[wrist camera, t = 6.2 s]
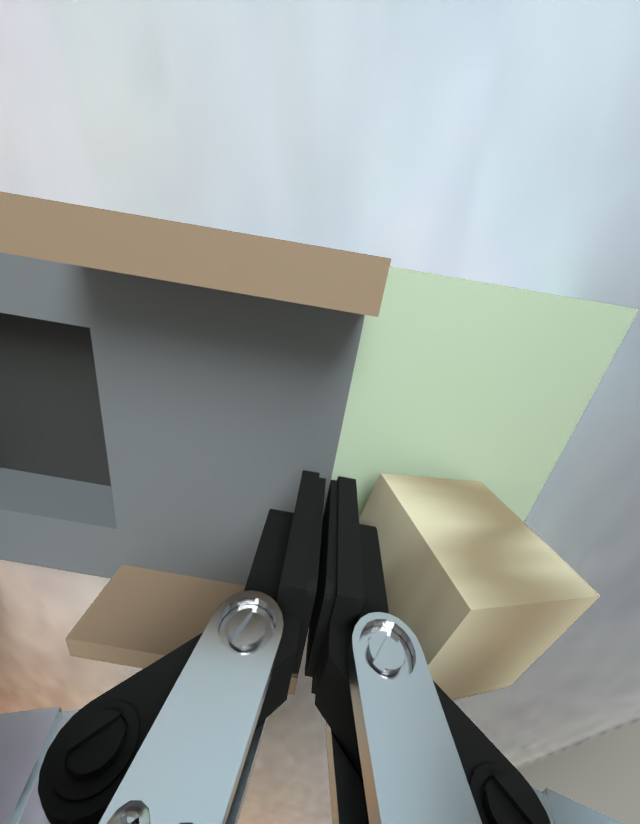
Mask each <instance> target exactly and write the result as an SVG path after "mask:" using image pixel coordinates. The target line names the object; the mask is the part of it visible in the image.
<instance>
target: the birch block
mask: <svg viewBox="0 0 640 824" xmlns="http://www.w3.org/2000/svg"><path fill="white" fill-rule="evenodd" d="M359 524H363V525H369V526H375V527H376V528H377V532H378V538H379V546H380V553H381V560H382V567H383V574H384V581H385V588H386V595H387V603H388V610H389V614H391V615H393V616H395V617H397V618H399V619H400V620H401V621H403V622H404V623H405V624H406V625H407V626H408V627H409V628H410V629H411V630H412V632H413V633H414V634H415V635H416V637H417V639H418V641H419V643H420V645H421V648H422V651H423V653H424V656H425V659H426V662H427V665H428V668H429V671H430V674H431V677H432V679H433V681H434V682H435V683H436V684H437V685H438V686H439V687H440V688H441V689H442V690H443V691H444V692H445V693H446V694H447V695H448V697H449V698H450V699H451V700H456V699H460V698H464V697H468V696H473V695H477V694H481V693H485V692H489V691H493V690H498V689H502V688H506V687H509V686H510V685H511V684H512V683H513V682H514V681H515V680H516V679H517V678H518V677H519V676H520V675H521V674H522V673H523V672H524V671H525V670H526V669H527V668H528V667H529V666H530V665H532V664H533V663H534V662H535V661H536V660H537V659H538V658H539V657H540V656H541V655H542V654H543V653H544V652H545V651H546V650H547V649H548V648H549V647H550V646H551V645H552V644H553V643H554V642H555V641H556V640H557V639H558V638H559V637H560V636H561V635H562V634H563V633H564V632H565V631H566V630H567V629H568V628H569V627H570V626H571V625H572V624H573V623H574V622H575V621H576V620H577V619H578V618H579V617H580V616H581V615H582V614H583V613H584V612H585V611H586V610H587V609H588V608H589V607H590V606H591V605H592V604H593V603H594V602H595V601H596V600H597V599H598V598H599V597H600V595H599V594H598V593H597V592H596V591H595V590H594V589H593V588H592V587H591V586H590V585H589V584H588V583H587V582H586V581H585V580H584V579H583V578H582V577H581V576H579V575H578V574H577V573H576V572H575V571H574V570H573V569H572V568H571V567H570V566H569V565H568V564H567V563H566V562H565V561H564V560H563V559H562V558H561V557H560V556H559V555H558V554H557V553H555V552H554V551H553V550H552V549H551V548H550V547H549V546H548V545H547V544H546V543H545V542H544V541H543V540H542V539H541V538H540V537H539V536H538V535H537V534H536V533H535V532H534V531H533V530H531V529H530V528H529V527H528V526H527V525H526V524H525V523H524V522H523V521H522V520H521V519H520V518H519V517H518V516H517V515H516V514H515V513H514V512H513V511H512V510H511V509H510V508H509V507H507V506H506V505H505V504H504V503H503V502H502V501H501V500H500V499H499V498H498V497H497V496H496V495H495V494H494V493H493V492H492V491H491V490H490V489H489V488H488V487H487V486H486V485H485V484H483V483H482V482H477V481H466V480H454V479H442V478H431V477H419V476H408V475H396V474H385V473H381V474H380V476H379V478H378V480H377V482H376V484H375V487H374V489H373V491H372V493H371V495H370V497H369V500H368V502H367V504H366V506H365V508H364V510H363V512H362V515H361V517H360V519H359Z"/></svg>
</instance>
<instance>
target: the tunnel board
mask: <svg viewBox="0 0 640 824" xmlns="http://www.w3.org/2000/svg"><path fill="white" fill-rule="evenodd" d="M390 262H391V259H390V258H384V257H378V256H372V255H367V254H361V253H355V252H349V251H343V250H337V249H332V248H326V247H320V246H314V245H308V244H302V243H297V242H291V241H285V240H279V239H273V238H267V237H262V236H256V235H250V234H244V233H238V232H232V231H227V230H221V229H215V228H209V227H203V226H197V225H192V224H186V223H180V222H174V221H168V220H162V219H157V218H151V217H145V216H139V215H133V214H127V213H122V212H116V211H110V210H104V209H98V208H93V207H87V206H81V205H75V204H69V203H63V202H58V201H52V200H46V199H40V198H34V197H28V196H23V195H17V194H11V193H5V192H0V559H1V560H7V561H12V562H18V563H24V564H30V565H36V566H41V567H47V568H53V569H59V570H65V571H71V572H76V573H82V574H88V575H94V576H100V577H105V578H111V580H110V581H109V582H108V583H107V585H106V586H105V587H104V589H103V590H102V591H101V593H100V594H99V595H98V597H97V598H96V599H95V600H94V602H93V603H92V604H91V606H90V607H89V608H88V610H87V611H86V612H85V614H84V615H83V616H82V617H81V619H80V620H79V621H78V623H77V624H76V625H75V627H74V628H73V629H72V631H71V632H70V633H69V634H68V636H67V637H66V642H67V646H68V649H69V653H70V656H74V657H80V658H86V659H92V660H98V661H103V662H109V663H115V664H121V665H127V666H132V667H138V668H146V667H147V666H149V665H151V664H152V663H154V662H156V661H157V660H159V659H160V658H162V657H164V656H165V655H167V654H168V653H170V652H172V651H173V650H175V649H177V648H178V647H180V646H181V645H183V644H185V643H186V642H188V641H189V640H191V639H193V638H194V637H196V636H197V635H199V634H201V633H202V632H204V630H205V628H206V627H207V625H208V623H209V621H210V619H211V617H212V616H213V614H214V612H215V611H216V609H217V608H218V607H219V605H220V604H221V603H222V602H223V601H224V600H226V599H227V598H228V597H230V596H231V595H234V594H236V593H238V592H242V591H244V589H245V586H246V583H247V580H248V576H249V573H250V570H251V567H252V563H253V560H254V557H255V554H256V551H257V547H258V544H259V541H260V538H261V535H262V531H263V528H264V525H265V522H266V519H267V515H268V512H269V510H270V509H275V510H281V511H287V512H293V513H294V511H295V506H296V501H297V496H298V491H299V486H300V481H301V476H302V471H303V470H306V471H312V472H318V473H320V476H319V478H325V479H326V483H325V496H324V509H323V514H324V510H325V505H326V500H327V495H328V490H329V486H330V481H331V480H337V479H338V476H341V477H347V478H353V479H356V485H357V499H358V513H359V519H360V517H361V515H362V512H363V510H364V508H365V506H366V504H367V502H368V500H369V497H370V495H371V493H372V491H373V489H374V487H375V484H376V482H377V480H378V478H379V476H380V474H381V473H385V474H396V475H408V476H419V477H431V478H442V479H454V480H466V481H477V482H482V483H483V484H485V485H486V486H487V487H488V488H489V489H490V490H491V491H492V492H493V493H494V494H495V495H496V496H497V497H498V498H499V499H500V500H501V501H502V502H503V503H504V504H505V505H506V506H507V507H509V508H510V509H511V510H512V511H513V512H514V513H515V514H516V515H517V516H518V517H519V518H520V519H521V520H522V521H523V522H524V521H525V519H526V518H527V516H528V514H529V512H530V510H531V508H532V506H533V505H534V503H535V501H536V499H537V497H538V495H539V494H540V492H541V490H542V488H543V486H544V484H545V482H546V481H547V479H548V477H549V475H550V473H551V471H552V470H553V468H554V466H555V464H556V462H557V460H558V458H559V457H560V455H561V453H562V451H563V449H564V447H565V446H566V444H567V442H568V440H569V438H570V436H571V434H572V433H573V431H574V429H575V427H576V425H577V423H578V422H579V420H580V418H581V416H582V414H583V412H584V410H585V409H586V407H587V405H588V403H589V401H590V399H591V398H592V396H593V394H594V392H595V390H596V388H597V386H598V385H599V383H600V381H601V379H602V377H603V375H604V374H605V372H606V370H607V368H608V366H609V364H610V362H611V361H612V359H613V357H614V355H615V353H616V351H617V350H618V348H619V346H620V344H621V342H622V340H623V338H624V337H625V335H626V333H627V331H628V329H629V327H630V326H631V324H632V322H633V320H634V318H635V316H636V314H637V313H638V311H639V309H636V308H630V307H624V306H618V305H612V304H606V303H601V302H595V301H589V300H583V299H577V298H571V297H566V296H560V295H554V294H548V293H542V292H536V291H531V290H525V289H519V288H513V287H507V286H501V285H496V284H490V283H484V282H478V281H472V280H466V279H461V278H455V277H449V276H443V275H437V274H431V273H426V272H420V271H414V270H408V269H402V268H396V267H391V266H390ZM297 678H298V674H293V673H292V676H291V681H290V685H289V690H288V693H290V694H294V692H295V687H296V683H297Z"/></svg>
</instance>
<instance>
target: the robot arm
mask: <svg viewBox="0 0 640 824" xmlns="http://www.w3.org/2000/svg"><path fill="white" fill-rule="evenodd" d="M319 476H320V473H318V472H312V471H306V470H303V471H302V476H301V481H300V486H299V491H298V496H297V501H296V506H295V511H294V513H293V512H287V511H281V510H275V509H270V510H269V512H268V515H267V519H266V522H265V525H264V528H263V531H262V535H261V538H260V541H259V544H258V547H257V551H256V554H255V557H254V560H253V563H252V567H251V570H250V573H249V576H248V580H247V583H246V586H245V589H244V591H242V592H238V593H236V594H234V595H231V596H230V597H228V598H227V599H226V600H224V601H223V602H222V603H221V604H220V605H219V607H218V608H217V609H216V611H215V612H214V614H213V616H212V617H211V619H210V621H209V623H208V625H207V627H206V628H205V630H204V632H202V633H201V634H199V635H197V636H196V637H194V638H193V639H191V640H189V641H188V642H186V643H185V644H183V645H181V646H180V647H178V648H177V649H175V650H173V651H172V652H170V653H168V654H167V655H165V656H164V657H162V658H160V659H159V660H157V661H156V662H154V663H152V664H151V665H149V666H147V667H146V668H144V669H143V670H141V671H139V672H138V673H136V674H135V675H133V676H131V677H130V678H128V679H127V680H125V681H123V682H122V683H120V684H118V685H117V686H115V687H114V688H112V689H110V690H109V691H107V692H106V693H104V694H102V695H101V696H99V697H97V698H96V699H94V700H93V701H91V702H90V703H88V704H87V705H86V706H84V707H83V708H82V709H80V710H73V711H65V712H62V711H61V708H60V707H54V708H45V709H37V710H29V711H20V712H12V713H4V714H0V824H237V822H238V819H239V815H240V812H241V808H242V805H243V801H244V798H245V794H246V791H247V788H248V784H249V781H250V777H251V774H252V770H253V767H254V763H255V760H256V757H257V753H258V750H259V746H260V743H261V739H262V736H263V732H264V729H265V725H266V722H267V717H268V716H269V715H270V714H271V713H272V712H273V711H275V710H276V709H277V708H278V707H279V706H280V705H281V704H282V703H283V702H284V701H285V700H287V695H288V690H289V685H290V681H291V676H292V673H293V674H298V673H299V668H300V664H301V659H302V655H303V650H304V646H305V642H306V637H307V633H308V628H309V633H308V643H307V654H306V665H305V676H310V677H313V679H312V692H311V693H314V694H316V696H315V705H316V707H317V708H318V710H319V711H320V713H321V714H322V716H323V717H324V719H325V720H326V742H327V756H328V769H329V782H330V795H331V808H332V822H333V824H622V823H620V822H618V821H616V820H614V819H611V818H609V817H607V816H605V815H603V814H601V813H599V812H597V811H594V810H592V809H590V808H588V807H586V806H584V805H582V804H580V803H577V802H575V801H573V800H571V799H569V798H567V797H565V796H562V795H560V794H558V793H556V792H554V791H552V790H550V789H547V788H546V789H545V790H544V791H543V792H541V791H539V790H536V789H534V788H532V787H531V786H530V785H529V783H528V782H527V781H526V780H525V778H524V777H523V776H522V774H521V773H520V772H519V771H518V770H517V769H516V768H515V767H514V766H513V765H512V764H511V763H510V762H509V761H508V759H507V758H506V757H505V756H504V755H503V754H502V753H501V752H500V751H499V750H498V749H497V748H496V747H495V746H494V745H493V743H492V742H491V741H490V740H489V739H488V738H487V737H486V736H485V735H484V734H483V733H482V732H481V731H480V730H479V729H478V727H477V726H476V725H475V724H474V723H473V722H472V721H471V720H470V719H469V718H468V717H467V716H466V715H465V714H464V713H463V711H462V710H461V709H460V708H459V707H458V706H457V705H456V704H455V703H454V702H453V701H452V700H451V699H450V698H449V697H448V695H447V694H446V693H445V692H444V691H443V690H442V689H441V688H440V687H439V686H438V685H437V684H436V683H435V682H434V681H433V679H432V677H431V674H430V671H429V668H428V665H427V662H426V659H425V656H424V653H423V651H422V648H421V645H420V643H419V641H418V639H417V637H416V635H415V634H414V633H413V632H412V630H411V629H410V628H409V627H408V626H407V625H406V624H405V623H404V622H403V621H401V620H400V619H399V618H397V617H395V616H393V615H391V614H389V610H388V603H387V595H386V588H385V581H384V574H383V567H382V560H381V553H380V546H379V538H378V532H377V528H376V527H375V526H369V525H363V524H359V513H358V499H357V485H356V479H353V478H347V477H341V476H338V479H337V480H331V481H330V486H329V490H328V495H327V500H326V505H325V510H324V514H323V509H324V496H325V483H326V479H325V478H319Z"/></svg>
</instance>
